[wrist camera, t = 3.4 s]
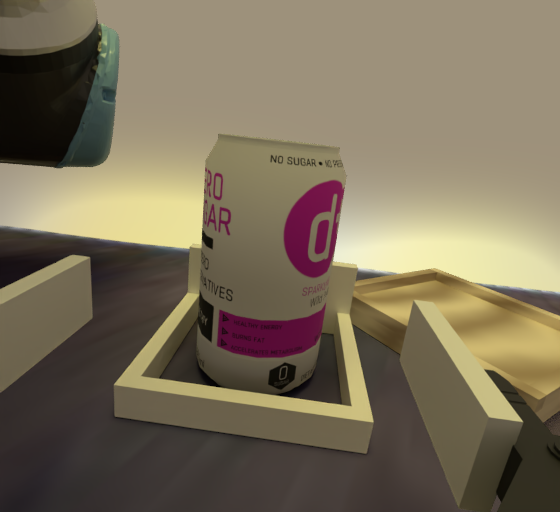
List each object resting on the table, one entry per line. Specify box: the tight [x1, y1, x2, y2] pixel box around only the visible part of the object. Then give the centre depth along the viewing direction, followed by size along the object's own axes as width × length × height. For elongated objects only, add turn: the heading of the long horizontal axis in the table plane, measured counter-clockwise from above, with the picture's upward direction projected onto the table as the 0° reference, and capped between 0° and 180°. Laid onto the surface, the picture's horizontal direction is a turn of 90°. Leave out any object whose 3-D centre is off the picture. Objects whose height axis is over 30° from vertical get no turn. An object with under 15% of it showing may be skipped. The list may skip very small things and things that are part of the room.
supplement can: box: [196, 134, 346, 395], centre depth 24 cm, size 8×8×15 cm
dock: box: [114, 244, 374, 454], centre depth 26 cm, size 14×14×6 cm
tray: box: [349, 268, 560, 422], centre depth 34 cm, size 18×16×2 cm
